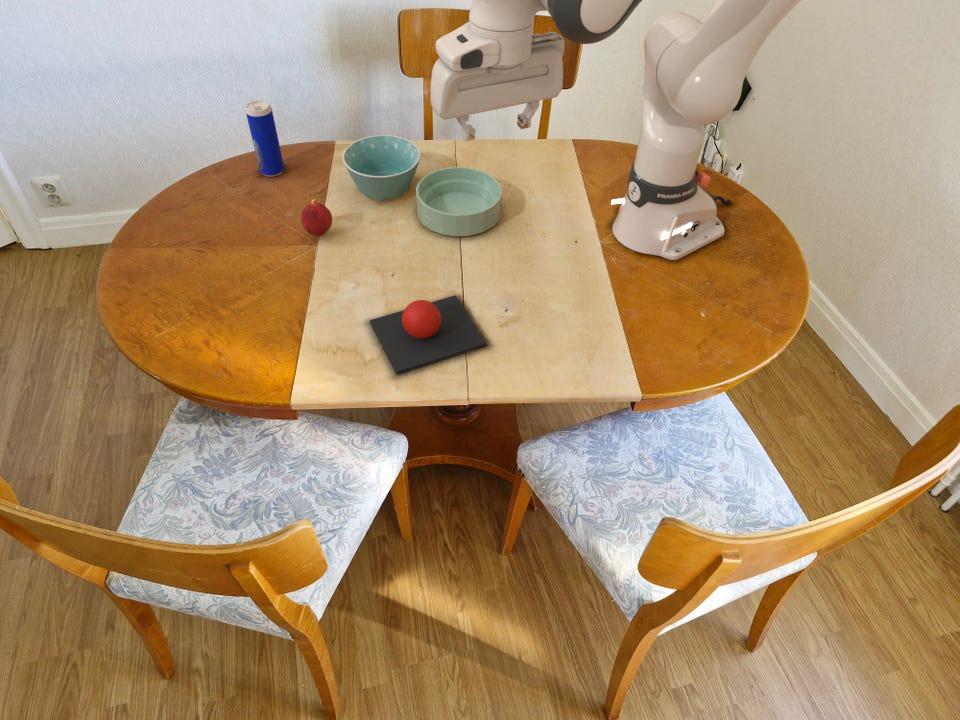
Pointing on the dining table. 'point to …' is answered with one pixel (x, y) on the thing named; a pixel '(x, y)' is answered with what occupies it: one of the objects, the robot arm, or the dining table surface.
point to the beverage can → (265, 138)
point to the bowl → (382, 165)
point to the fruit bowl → (458, 201)
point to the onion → (316, 218)
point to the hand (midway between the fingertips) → (496, 132)
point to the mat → (445, 343)
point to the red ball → (421, 319)
